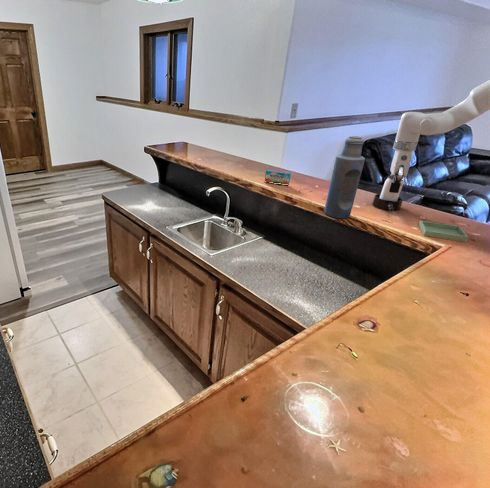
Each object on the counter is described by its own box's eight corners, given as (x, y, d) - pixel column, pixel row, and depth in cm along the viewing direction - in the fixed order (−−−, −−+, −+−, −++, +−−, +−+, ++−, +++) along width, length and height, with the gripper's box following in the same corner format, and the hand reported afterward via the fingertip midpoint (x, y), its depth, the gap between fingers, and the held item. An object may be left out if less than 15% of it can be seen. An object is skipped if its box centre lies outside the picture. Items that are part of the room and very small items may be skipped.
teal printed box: (264, 182, 177) (265, 170, 175) (265, 182, 179) (266, 170, 176) (288, 186, 172) (290, 174, 169) (289, 185, 173) (291, 173, 171)
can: (377, 201, 151) (387, 174, 146) (394, 205, 148) (404, 177, 143) (376, 206, 146) (386, 178, 141) (394, 209, 144) (404, 181, 138)
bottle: (330, 218, 134) (349, 138, 121) (319, 209, 143) (336, 134, 130) (354, 218, 135) (376, 139, 121) (342, 209, 144) (361, 134, 130)
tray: (458, 231, 125) (460, 226, 124) (466, 242, 117) (468, 237, 116) (418, 225, 130) (419, 220, 129) (423, 235, 121) (425, 230, 121)
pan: (397, 204, 150) (400, 195, 148) (404, 219, 135) (407, 209, 133) (371, 201, 154) (374, 192, 152) (375, 215, 138) (377, 205, 137)
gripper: (420, 150, 128) (406, 197, 135) (412, 143, 142) (399, 185, 150) (396, 148, 131) (384, 194, 138) (391, 141, 145) (379, 183, 153)
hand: (392, 189), depth 144 cm, fingers closed on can, 6 cm apart
